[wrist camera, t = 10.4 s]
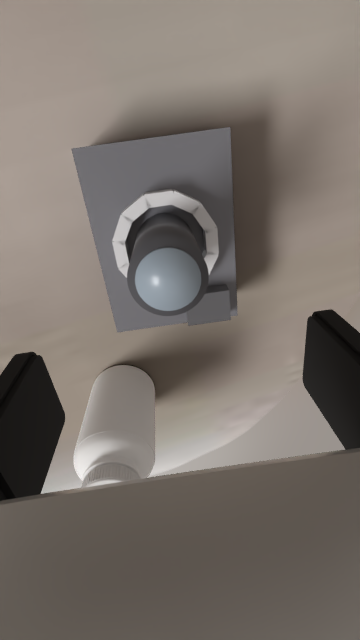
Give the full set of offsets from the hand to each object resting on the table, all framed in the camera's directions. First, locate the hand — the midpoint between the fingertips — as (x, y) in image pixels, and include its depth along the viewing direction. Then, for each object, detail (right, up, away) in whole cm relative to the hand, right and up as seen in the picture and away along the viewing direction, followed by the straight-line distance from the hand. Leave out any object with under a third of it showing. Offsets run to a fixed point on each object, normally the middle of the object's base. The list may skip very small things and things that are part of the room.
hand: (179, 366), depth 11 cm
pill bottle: (-7, -7, +29) cm, 31 cm away
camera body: (-2, +11, +20) cm, 23 cm away
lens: (-1, +8, +16) cm, 18 cm away
